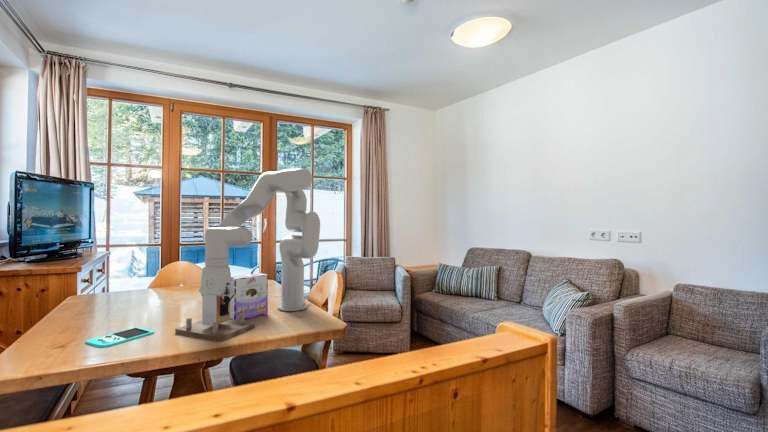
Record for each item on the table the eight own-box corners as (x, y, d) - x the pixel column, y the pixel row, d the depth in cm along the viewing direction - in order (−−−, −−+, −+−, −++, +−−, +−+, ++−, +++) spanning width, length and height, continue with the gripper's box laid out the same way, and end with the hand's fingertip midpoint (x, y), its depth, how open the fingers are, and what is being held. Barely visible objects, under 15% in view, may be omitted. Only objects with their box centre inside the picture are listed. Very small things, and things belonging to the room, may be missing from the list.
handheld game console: (84, 344, 116) (84, 340, 116) (137, 329, 130) (137, 326, 130) (102, 350, 112) (102, 345, 112) (155, 334, 126) (155, 330, 126)
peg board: (213, 320, 141) (213, 307, 141) (254, 327, 133) (254, 313, 133) (175, 333, 126) (175, 318, 126) (219, 341, 118) (219, 326, 118)
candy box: (261, 311, 154) (261, 272, 154) (268, 314, 150) (268, 274, 150) (227, 318, 144) (228, 276, 144) (234, 321, 140) (234, 278, 140)
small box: (216, 326, 125) (216, 295, 125) (201, 325, 126) (201, 294, 126) (230, 319, 133) (230, 290, 133) (216, 318, 134) (216, 289, 134)
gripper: (189, 262, 129) (189, 313, 129) (227, 265, 123) (227, 319, 123) (207, 259, 136) (207, 308, 136) (244, 263, 130) (243, 313, 130)
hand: (216, 313), depth 130 cm, fingers closed on small box, 6 cm apart
